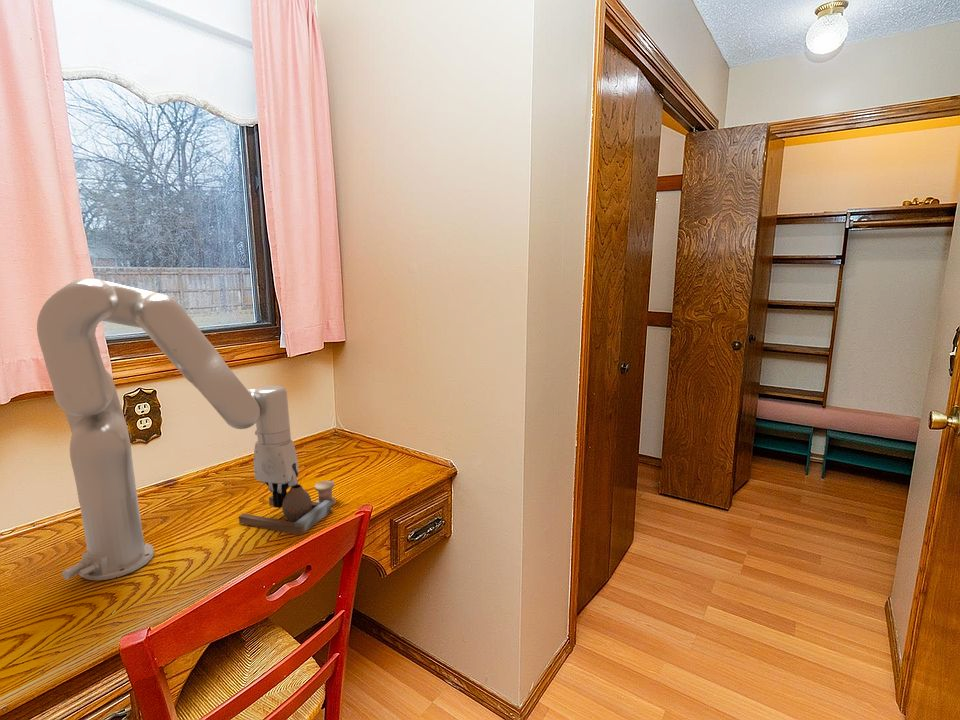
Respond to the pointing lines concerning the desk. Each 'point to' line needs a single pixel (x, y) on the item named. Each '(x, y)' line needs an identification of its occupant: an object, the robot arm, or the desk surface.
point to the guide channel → (297, 528)
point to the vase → (296, 503)
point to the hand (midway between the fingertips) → (280, 505)
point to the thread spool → (325, 491)
